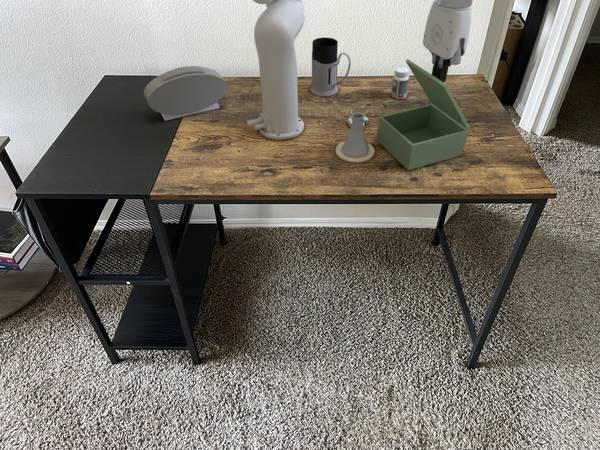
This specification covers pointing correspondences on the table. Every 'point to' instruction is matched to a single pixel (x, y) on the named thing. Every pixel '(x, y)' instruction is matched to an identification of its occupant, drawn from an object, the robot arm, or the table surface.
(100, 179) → the table surface
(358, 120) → the flask
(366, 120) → the game controller
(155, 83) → the alarm clock
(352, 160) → the coaster
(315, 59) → the glass holder
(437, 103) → the box lid
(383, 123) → the box
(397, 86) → the pill bottle
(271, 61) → the robot arm
